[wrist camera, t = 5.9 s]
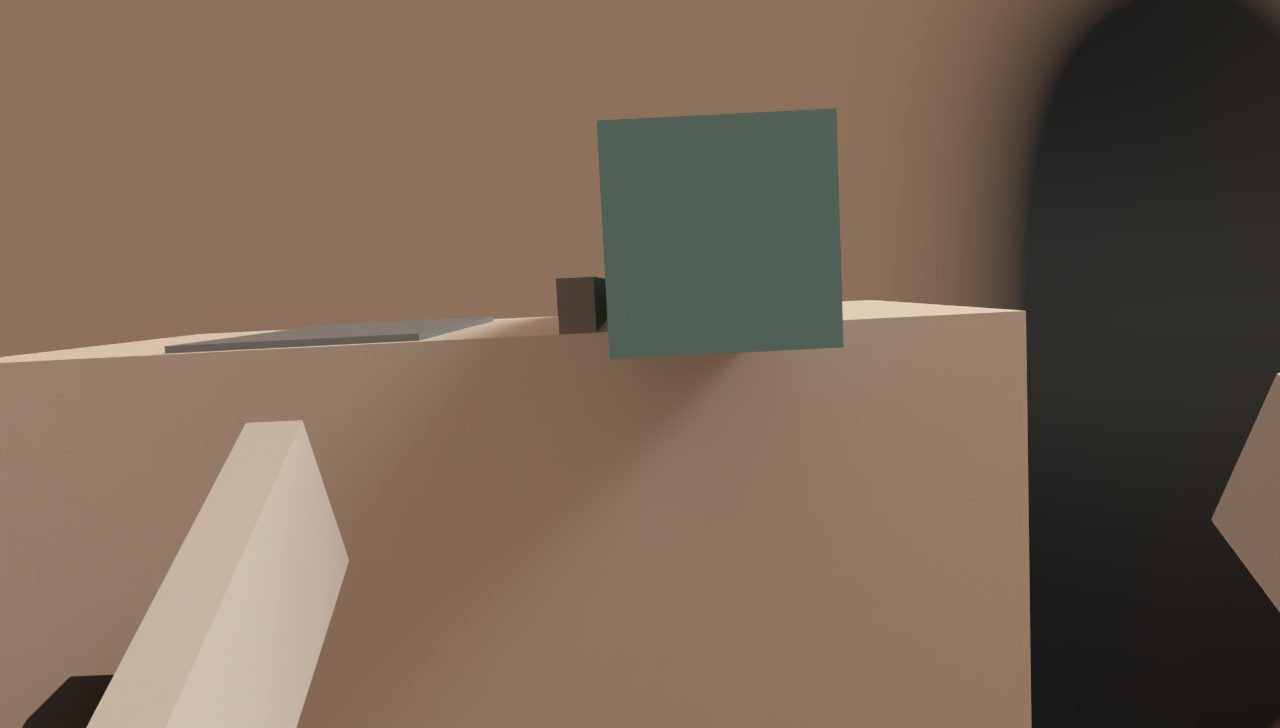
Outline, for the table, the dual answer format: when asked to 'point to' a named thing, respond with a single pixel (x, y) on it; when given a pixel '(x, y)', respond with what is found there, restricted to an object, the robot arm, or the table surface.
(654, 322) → the teal block
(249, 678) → the robot arm
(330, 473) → the tall cream box
